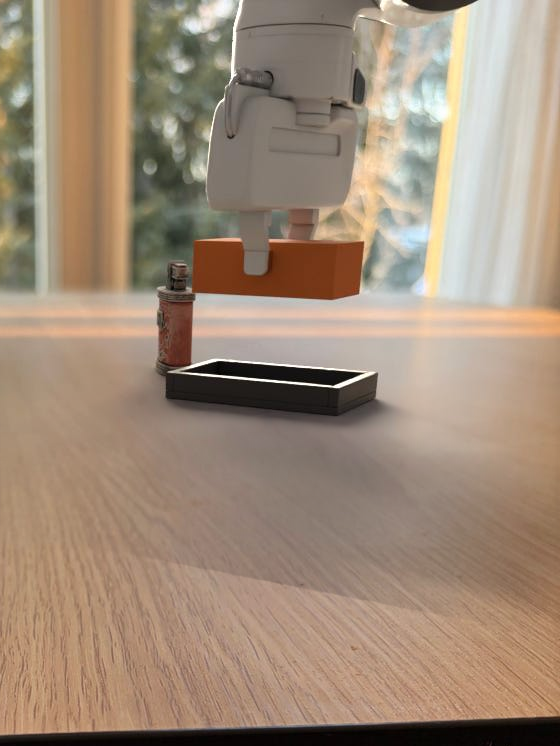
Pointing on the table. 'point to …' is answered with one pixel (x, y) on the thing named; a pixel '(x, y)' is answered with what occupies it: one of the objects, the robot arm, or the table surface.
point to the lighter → (175, 319)
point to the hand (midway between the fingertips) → (276, 272)
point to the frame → (273, 386)
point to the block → (280, 269)
